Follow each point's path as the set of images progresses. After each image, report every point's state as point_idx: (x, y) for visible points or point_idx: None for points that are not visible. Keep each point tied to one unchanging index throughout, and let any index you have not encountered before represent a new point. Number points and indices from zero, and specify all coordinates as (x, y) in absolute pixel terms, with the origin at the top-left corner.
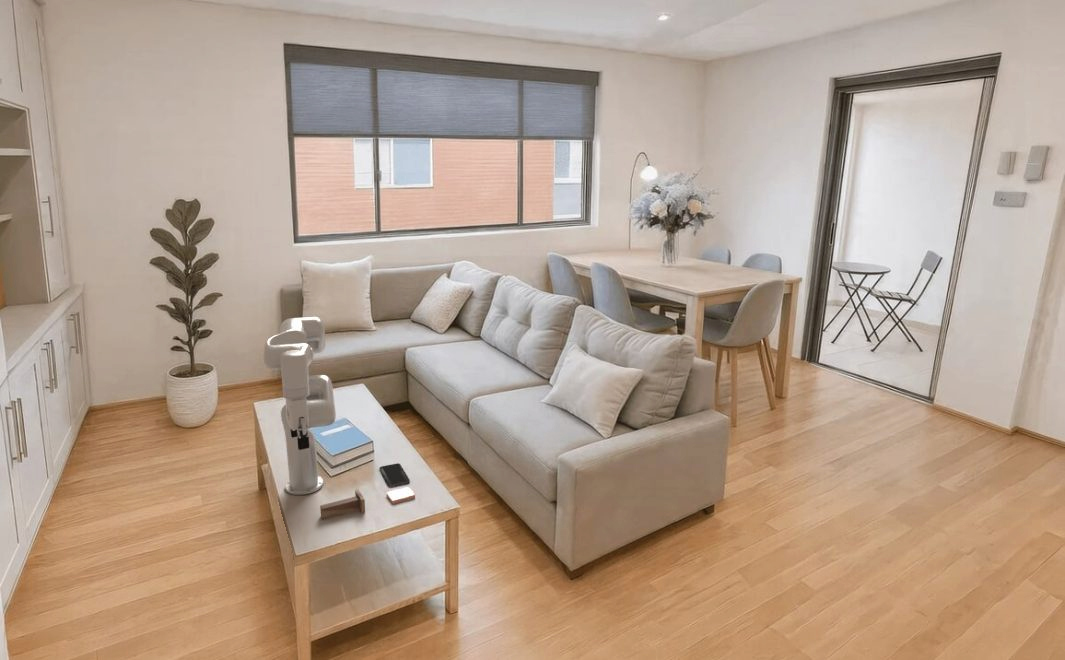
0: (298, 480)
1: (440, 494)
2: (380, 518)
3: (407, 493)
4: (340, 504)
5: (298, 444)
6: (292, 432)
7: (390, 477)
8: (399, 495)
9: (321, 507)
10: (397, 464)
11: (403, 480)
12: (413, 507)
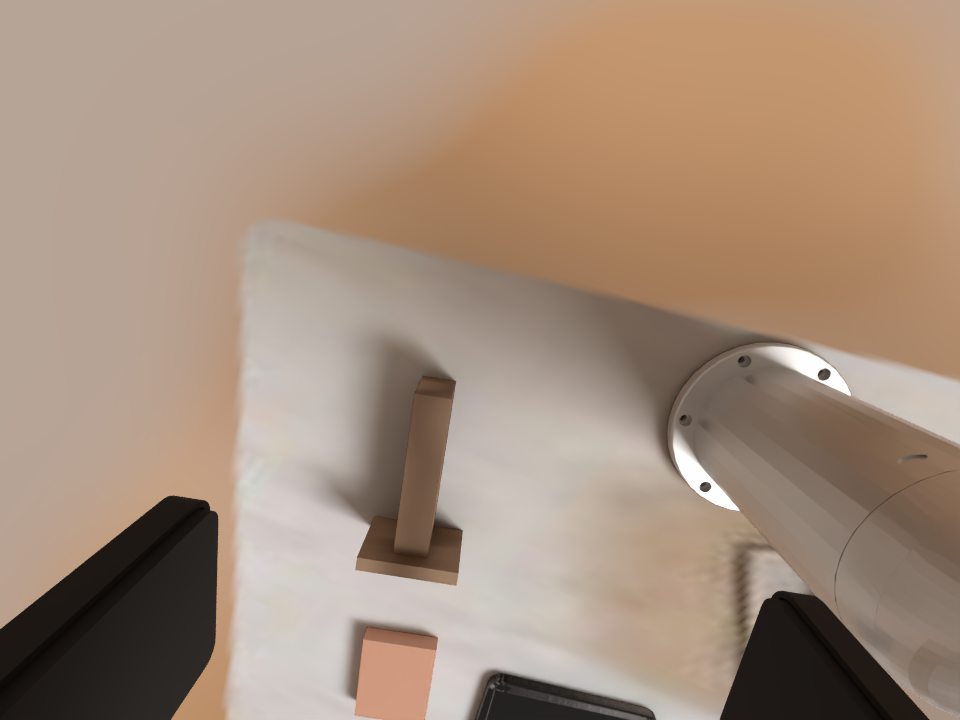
0: (744, 408)
1: None
2: (297, 550)
3: (379, 701)
4: (404, 473)
5: (87, 570)
6: (835, 699)
7: (549, 710)
8: (384, 674)
9: (430, 396)
10: None
11: None
12: (299, 667)
